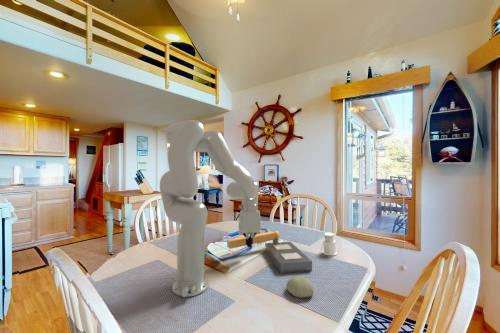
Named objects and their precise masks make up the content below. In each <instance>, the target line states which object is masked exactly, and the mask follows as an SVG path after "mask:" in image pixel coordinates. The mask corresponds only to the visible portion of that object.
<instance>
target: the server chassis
mask: <svg viewBox="0 0 500 333" xmlns="http://www.w3.org/2000/svg"><path fill="white" fill-rule="evenodd" d="M265 247H266V252H265V253H266V254H267V256H268V257H269V259H270V260H271V261H272V263H273V264H274V266H275V267H276V269H277V270H278V272H279V273H280V274H285V273H286V274H289V273H298V272H299V273H300V272H309V271H310V272H311V271H313V260H311V259H310V258H309V257H308V256H307V255H306V254H305V253H304V252H302V251H301V250H300V248H298V247H297V246H296V245H295V244H294V243H292V242H291V241H282V242H279V239H275V240H272V242H267V243H266V242H265V244H264V248H265Z"/></svg>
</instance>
